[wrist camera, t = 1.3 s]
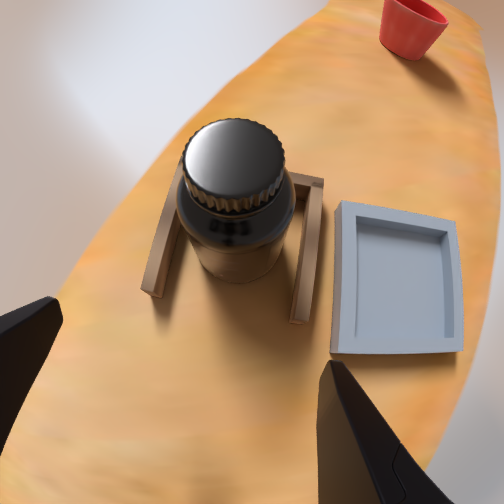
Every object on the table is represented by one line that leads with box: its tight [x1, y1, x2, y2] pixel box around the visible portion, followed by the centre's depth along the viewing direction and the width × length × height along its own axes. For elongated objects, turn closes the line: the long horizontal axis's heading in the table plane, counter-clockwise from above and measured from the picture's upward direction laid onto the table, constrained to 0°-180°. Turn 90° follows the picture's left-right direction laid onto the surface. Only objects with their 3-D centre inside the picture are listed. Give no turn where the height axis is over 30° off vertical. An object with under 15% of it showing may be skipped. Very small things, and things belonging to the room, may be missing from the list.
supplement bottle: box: [176, 118, 296, 283], centre depth 19 cm, size 7×7×12 cm
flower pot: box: [379, 0, 448, 60], centre depth 32 cm, size 11×11×10 cm
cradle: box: [141, 156, 324, 324], centre depth 23 cm, size 12×12×2 cm
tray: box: [330, 200, 464, 354], centre depth 23 cm, size 12×12×2 cm
